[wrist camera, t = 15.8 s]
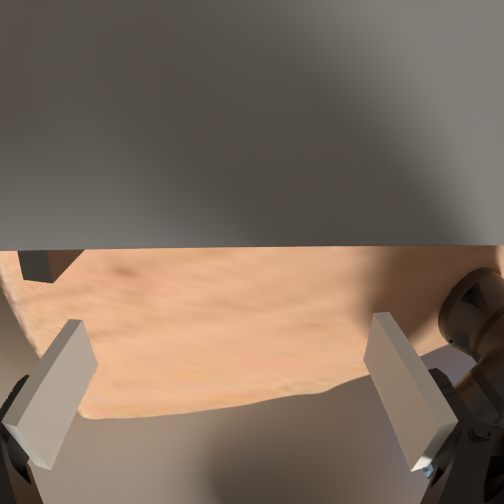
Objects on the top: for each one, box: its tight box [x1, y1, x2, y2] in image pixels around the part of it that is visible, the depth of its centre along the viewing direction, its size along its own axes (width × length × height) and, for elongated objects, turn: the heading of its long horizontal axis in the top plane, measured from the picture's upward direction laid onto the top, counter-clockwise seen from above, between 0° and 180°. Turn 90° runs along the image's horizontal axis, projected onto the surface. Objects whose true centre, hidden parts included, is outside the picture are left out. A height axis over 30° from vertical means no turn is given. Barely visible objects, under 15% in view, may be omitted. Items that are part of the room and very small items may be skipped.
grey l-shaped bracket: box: [18, 249, 85, 283], centre depth 29 cm, size 20×4×12 cm, turn 175°
